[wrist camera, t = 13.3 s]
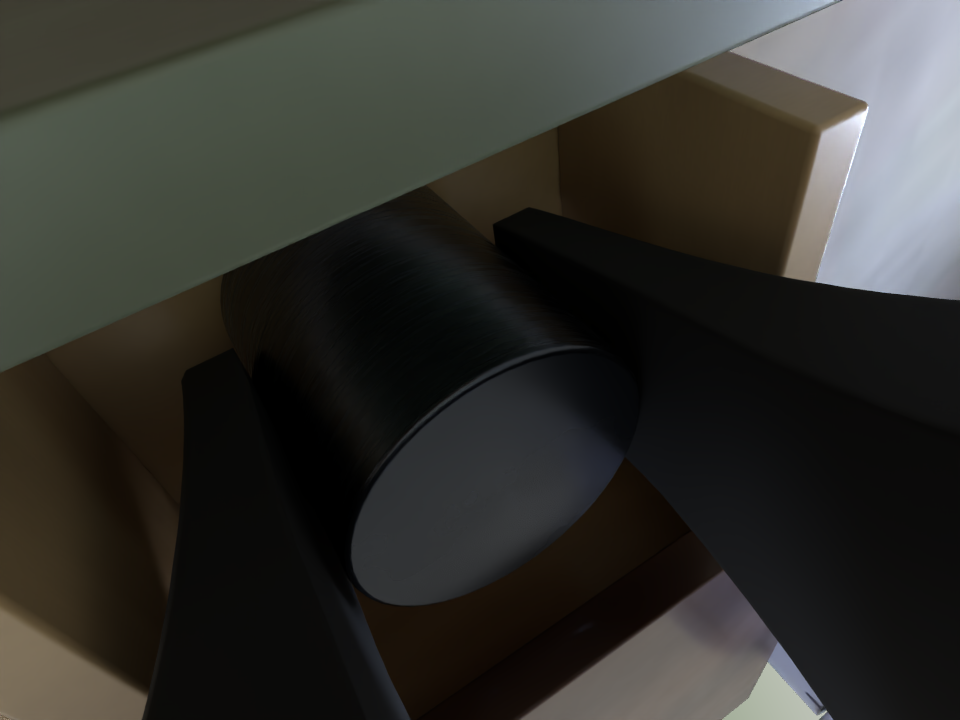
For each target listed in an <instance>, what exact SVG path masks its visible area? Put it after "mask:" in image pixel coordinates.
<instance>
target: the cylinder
mask: <svg viewBox="0 0 960 720" xmlns="http://www.w3.org/2000/svg"><path fill="white" fill-rule="evenodd" d="M220 304H221V314H222V319H223V322H224V326H225V329H226V332H227V334H228V336H229V338H230V340H231V342H232V344H233V346H234V348H235V350H236V352H237V354H238V356H239V359H240V360H241V362H242V364H243V366H244V367H245V369H246V371H247V372H248V374H249V376H250V378H251V379H252V381H253V383H254V385H255V387H256V389H257V391H258V393H259V395H260V397H261V399H262V401H263V403H264V405H265V407H266V409H267V411H268V413H269V415H270V417H271V419H272V421H273V423H274V425H275V427H276V429H277V431H278V434H279V436H280V439H281V441H282V444H283V446H284V448H285V451H286V453H287V455H288V457H289V459H290V461H291V463H292V466H293V468H294V470H295V472H296V474H297V476H298V478H299V480H300V482H301V484H302V486H303V488H304V490H305V492H306V494H307V496H308V498H309V500H310V502H311V504H312V506H313V508H314V510H315V512H316V514H317V516H318V518H319V520H320V522H321V525H322V527H323V529H324V531H325V533H326V535H327V537H328V539H329V541H330V543H331V545H332V547H333V549H334V551H335V553H336V555H337V557H338V559H339V561H340V563H341V565H342V567H343V569H344V571H345V573H346V575H347V577H348V579H349V581H350V582H351V583H352V584H353V585H354V587H355V588H356V589H357V590H359V591H360V592H361V593H363V594H364V595H366V596H367V597H368V598H370V599H372V600H374V601H377V602H379V603H381V604H386V605H391V606H396V607H416V606H426V605H432V604H437V603H442V602H445V601H448V600H452V599H455V598H458V597H461V596H464V595H466V594H469V593H472V592H474V591H476V590H479V589H481V588H483V587H485V586H487V585H490V584H491V583H493V582H495V581H497V580H499V579H501V578H503V577H505V576H506V575H508V574H510V573H511V572H513V571H514V570H516V569H518V568H519V567H521V566H523V565H524V564H525V563H527V562H528V561H530V560H531V559H533V558H534V557H535V556H537V555H538V554H539V553H541V552H542V551H543V550H545V549H546V548H547V547H548V546H550V545H551V544H552V543H553V542H555V541H556V540H557V539H558V538H559V537H560V536H561V535H563V534H564V533H565V532H566V531H567V530H568V529H569V528H570V527H571V526H572V525H573V524H574V523H575V522H576V521H577V520H578V519H579V518H580V517H581V516H582V515H583V514H584V513H585V512H586V511H587V510H588V509H589V508H590V506H591V505H592V504H593V503H594V502H595V501H596V499H597V498H598V497H599V496H600V494H601V493H602V492H603V491H604V489H605V488H606V486H607V485H608V484H609V482H610V481H611V479H612V478H613V476H614V475H615V473H616V472H617V470H618V468H619V467H620V465H621V463H622V461H623V459H624V457H625V456H626V454H627V452H628V450H629V447H630V445H631V442H632V440H633V437H634V435H635V431H636V428H637V424H638V420H639V413H640V392H639V387H638V382H637V380H636V378H635V375H634V373H633V371H632V369H631V367H630V366H629V365H628V363H627V362H626V361H625V360H624V359H623V358H622V357H621V356H620V355H619V354H618V353H617V352H616V351H614V350H613V349H612V348H611V347H610V346H609V345H608V344H606V343H605V342H604V341H603V340H602V339H601V338H600V337H599V336H597V335H596V334H595V333H594V332H593V331H592V330H591V329H589V328H588V327H587V326H586V325H585V324H584V323H583V322H581V321H580V320H579V319H578V318H577V317H576V316H575V315H574V314H572V313H571V312H570V311H569V310H568V309H567V308H566V307H564V306H563V305H562V304H561V303H560V302H559V301H558V300H557V299H555V298H554V297H553V296H552V295H551V294H550V293H549V292H547V291H546V290H545V289H544V288H543V287H542V286H541V285H539V284H538V283H537V282H536V281H535V280H534V279H533V278H532V277H530V276H529V275H528V274H527V273H526V272H525V271H524V270H522V269H521V268H520V267H519V266H518V265H517V264H516V263H514V262H513V261H512V260H511V259H510V258H509V257H508V256H507V255H505V254H504V253H503V252H502V251H501V250H500V249H499V248H497V247H496V246H495V245H494V244H493V243H492V242H491V241H490V240H488V239H487V238H486V237H485V236H484V235H483V234H482V233H480V232H479V231H478V230H477V229H476V228H475V227H474V226H472V225H471V224H470V223H469V222H468V221H467V220H466V219H465V218H463V217H462V216H461V215H460V214H459V213H458V212H457V211H455V210H454V209H453V208H452V207H451V206H450V205H449V204H448V203H446V202H445V201H444V200H443V199H442V198H441V197H440V196H438V195H437V194H436V193H435V192H434V191H433V190H431V189H430V188H429V187H428V186H426V185H424V186H422V187H419V188H417V189H415V190H413V191H410V192H408V193H406V194H403V195H401V196H399V197H397V198H394V199H392V200H390V201H388V202H385V203H383V204H381V205H379V206H376V207H374V208H372V209H370V210H367V211H365V212H363V213H360V214H358V215H356V216H354V217H351V218H349V219H347V220H345V221H342V222H340V223H338V224H336V225H333V226H331V227H329V228H327V229H324V230H322V231H320V232H318V233H315V234H313V235H311V236H308V237H306V238H304V239H302V240H299V241H297V242H295V243H293V244H290V245H288V246H286V247H284V248H281V249H279V250H277V251H275V252H272V253H270V254H268V255H265V256H263V257H261V258H259V259H256V260H254V261H252V262H250V263H247V264H245V265H243V266H241V267H238V268H236V269H234V270H232V271H229V272H227V273H225V274H223V278H222V283H221V294H220Z"/></svg>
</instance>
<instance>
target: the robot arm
mask: <svg viewBox="0 0 960 720" xmlns="http://www.w3.org/2000/svg"><path fill="white" fill-rule="evenodd" d="M492 225H493V232H494V239H495V246H496V247H497V248H499V249H500V250H501V251H502V252H503V253H504V254H505V255H507V256H508V257H509V258H510V259H511V260H512V261H513V262H514V263H516V264H517V265H518V266H519V267H520V268H521V269H522V270H524V271H525V272H526V273H527V274H528V275H529V276H530V277H532V278H533V279H534V280H535V281H536V282H537V283H538V284H539V285H541V286H542V287H543V288H544V289H545V290H546V291H547V292H549V293H550V294H551V295H552V296H553V297H554V298H555V299H557V300H558V301H559V302H560V303H561V304H562V305H563V306H564V307H566V308H567V309H568V310H569V311H570V312H571V313H572V314H574V315H575V316H576V317H577V318H578V319H579V320H580V321H581V322H583V323H584V324H585V325H586V326H587V327H588V328H589V329H591V330H592V331H593V332H594V333H595V334H596V335H597V336H599V337H600V338H601V339H602V340H603V341H604V342H605V343H606V344H608V345H609V346H610V347H611V348H612V349H613V350H614V351H616V352H617V353H618V354H619V355H620V356H621V357H622V358H623V359H624V360H625V361H626V362H627V363H628V365H629V366H630V367H631V369H632V371H633V373H634V375H635V378H636V380H637V382H638V387H639V392H640V413H639V420H638V424H637V428H636V431H635V435H634V437H633V440H632V442H631V445H630V447H629V450H628V452H627V454H626V456H625V457H626V458H627V459H628V460H629V461H630V462H631V463H632V464H633V465H634V466H635V467H636V468H637V469H638V470H639V471H640V472H641V473H642V474H643V475H644V476H645V477H646V478H647V479H648V480H649V481H650V482H651V484H652V485H653V486H654V487H655V488H656V489H657V490H658V491H659V492H660V493H661V494H662V495H663V496H664V498H665V499H666V500H667V501H668V502H669V503H670V505H671V506H672V507H673V508H674V510H675V511H676V512H677V513H678V514H679V516H680V517H681V518H682V519H683V520H684V522H685V523H686V524H687V525H688V526H689V528H690V529H691V530H692V531H693V533H694V534H695V535H696V536H697V537H698V539H699V540H700V541H701V542H702V543H703V545H704V546H705V547H706V548H707V550H708V551H709V552H710V553H711V555H712V556H713V557H714V559H715V560H716V561H717V562H718V564H719V565H720V566H721V567H722V569H723V570H724V571H725V573H726V574H727V575H728V576H729V578H730V579H731V580H732V581H733V583H734V584H735V585H736V586H737V588H738V589H739V590H740V592H741V593H742V594H743V595H744V597H745V598H746V599H747V601H748V602H749V603H750V605H751V606H752V607H753V609H754V610H755V611H756V613H757V614H758V615H759V617H760V618H761V619H762V621H763V622H764V623H765V625H766V626H767V628H768V629H769V630H770V632H771V633H772V634H773V636H774V637H775V638H776V640H777V641H778V643H777V645H776V647H775V649H774V650H773V652H772V654H771V656H770V658H769V660H768V663H769V664H770V665H771V666H772V667H773V668H774V669H775V670H776V671H777V673H778V674H779V675H780V676H781V677H782V678H783V679H784V680H785V681H786V682H787V683H788V685H789V686H790V687H791V688H792V689H793V690H794V691H795V692H796V693H797V694H798V696H799V697H800V698H801V699H802V700H803V701H804V702H805V703H806V704H807V705H808V707H809V708H810V709H811V710H812V711H813V712H814V713H815V714H816V715H820V714H821V713H823V712H824V711H826V710H827V711H828V712H827V713H826V714H825V715H824V716H822V717H821V718H820V719H819V720H960V300H949V299H939V298H929V297H920V296H910V295H901V294H891V293H882V292H875V291H867V290H860V289H852V288H845V287H839V286H834V285H828V284H822V283H816V282H810V281H804V280H799V279H793V278H787V277H782V276H777V275H772V274H767V273H762V272H758V271H753V270H749V269H745V268H741V267H737V266H733V265H728V264H724V263H720V262H716V261H712V260H708V259H704V258H700V257H697V256H693V255H689V254H685V253H682V252H678V251H675V250H671V249H667V248H664V247H661V246H657V245H654V244H650V243H647V242H644V241H640V240H637V239H634V238H630V237H627V236H624V235H621V234H617V233H614V232H611V231H608V230H605V229H601V228H598V227H595V226H592V225H589V224H586V223H582V222H579V221H576V220H573V219H569V218H566V217H563V216H560V215H556V214H553V213H549V212H546V211H542V210H538V209H535V208H531V207H528V208H525V209H523V210H521V211H519V212H517V213H515V214H513V215H511V216H509V217H507V218H504V219H502V220H500V221H498V222H496V223H494V224H492ZM181 384H182V393H183V409H184V447H183V470H182V484H181V498H180V511H179V522H178V531H177V538H176V545H175V552H174V559H173V566H172V574H171V581H170V588H169V595H168V601H167V606H166V612H165V617H164V623H163V628H162V633H161V638H160V643H159V648H158V653H157V657H156V662H155V666H154V671H153V675H152V679H151V684H150V688H149V693H148V697H147V701H146V705H145V709H144V713H143V717H142V720H411V719H410V717H409V715H408V713H407V711H406V709H405V707H404V705H403V703H402V701H401V699H400V697H399V695H398V693H397V691H396V689H395V687H394V685H393V683H392V681H391V679H390V677H389V674H388V672H387V670H386V668H385V665H384V663H383V661H382V659H381V656H380V654H379V652H378V649H377V647H376V644H375V642H374V639H373V637H372V634H371V632H370V629H369V626H368V624H367V621H366V619H365V616H364V614H363V611H362V608H361V606H360V603H359V601H358V598H357V596H356V593H355V590H354V588H353V585H352V583H351V582H350V581H349V579H348V577H347V575H346V573H345V571H344V569H343V567H342V565H341V563H340V561H339V559H338V557H337V555H336V553H335V551H334V549H333V547H332V545H331V543H330V541H329V539H328V537H327V535H326V533H325V531H324V529H323V527H322V525H321V522H320V520H319V518H318V516H317V514H316V512H315V510H314V508H313V506H312V504H311V502H310V500H309V498H308V496H307V494H306V492H305V490H304V488H303V486H302V484H301V482H300V480H299V478H298V476H297V474H296V472H295V470H294V468H293V466H292V463H291V461H290V459H289V457H288V455H287V453H286V451H285V448H284V446H283V444H282V441H281V439H280V436H279V434H278V431H277V429H276V427H275V425H274V423H273V421H272V419H271V417H270V415H269V413H268V411H267V409H266V407H265V405H264V403H263V401H262V399H261V397H260V395H259V393H258V391H257V389H256V387H255V385H254V383H253V381H252V379H251V378H250V376H249V374H248V372H247V371H246V369H245V367H244V366H243V364H242V362H241V360H240V359H239V357H238V355H237V354H236V352H235V350H234V348H231V349H229V350H227V351H225V352H223V353H221V354H219V355H217V356H215V357H213V358H211V359H208V360H206V361H204V362H202V363H200V364H198V365H196V366H194V367H192V368H190V369H187V370H186V371H185V373H184V376H183V378H182V380H181Z"/></svg>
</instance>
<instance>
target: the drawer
mask: <svg viewBox="0 0 960 720" xmlns="http://www.w3.org/2000/svg"><path fill="white" fill-rule="evenodd" d="M840 1H842V0H0V715H2V716H4V717H7V718H9V719H11V720H142V717H143V713H144V709H145V705H146V701H147V697H148V693H149V688H150V684H151V679H152V675H153V671H154V666H155V662H156V657H157V653H158V648H159V643H160V638H161V633H162V628H163V623H164V617H165V612H166V606H167V601H168V595H169V588H170V581H171V574H172V566H173V559H174V552H175V545H176V538H177V531H178V522H179V511H180V498H181V484H182V470H183V447H184V409H183V393H182V384H181V380H182V378H183V376H184V373H185V371H186V370H187V369H190V368H192V367H194V366H196V365H198V364H200V363H202V362H204V361H206V360H208V359H211V358H213V357H215V356H217V355H219V354H221V353H223V352H225V351H227V350H229V349H231V348H234V346H233V344H232V342H231V340H230V338H229V336H228V334H227V332H226V329H225V326H224V322H223V319H222V314H221V304H220V294H221V283H222V278H223V274H225V273H227V272H229V271H232V270H234V269H236V268H238V267H241V266H243V265H245V264H247V263H250V262H252V261H254V260H256V259H259V258H261V257H263V256H265V255H268V254H270V253H272V252H275V251H277V250H279V249H281V248H284V247H286V246H288V245H290V244H293V243H295V242H297V241H299V240H302V239H304V238H306V237H308V236H311V235H313V234H315V233H318V232H320V231H322V230H324V229H327V228H329V227H331V226H333V225H336V224H338V223H340V222H342V221H345V220H347V219H349V218H351V217H354V216H356V215H358V214H360V213H363V212H365V211H367V210H370V209H372V208H374V207H376V206H379V205H381V204H383V203H385V202H388V201H390V200H392V199H394V198H397V197H399V196H401V195H403V194H406V193H408V192H410V191H413V190H415V189H417V188H419V187H422V186H424V185H426V186H428V187H429V188H430V189H431V190H433V191H434V192H435V193H436V194H437V195H438V196H440V197H441V198H442V199H443V200H444V201H445V202H446V203H448V204H449V205H450V206H451V207H452V208H453V209H454V210H455V211H457V212H458V213H459V214H460V215H461V216H462V217H463V218H465V219H466V220H467V221H468V222H469V223H470V224H471V225H472V226H474V227H475V228H476V229H477V230H478V231H479V232H480V233H482V234H483V235H484V236H485V237H486V238H487V239H488V240H490V241H491V242H492V243H493V244H494V245H495V239H494V232H493V225H492V224H494V223H496V222H498V221H500V220H502V219H504V218H507V217H509V216H511V215H513V214H515V213H517V212H519V211H521V210H523V209H525V208H528V207H531V208H535V209H538V210H542V211H546V212H549V213H553V214H556V215H560V216H563V217H566V218H569V219H573V220H576V221H579V222H582V223H586V224H589V225H592V226H595V227H598V228H601V229H605V230H608V231H611V232H614V233H617V234H621V235H624V236H627V237H630V238H634V239H637V240H640V241H644V242H647V243H650V244H654V245H657V246H661V247H664V248H667V249H671V250H675V251H678V252H682V253H685V254H689V255H693V256H697V257H700V258H704V259H708V260H712V261H716V262H720V263H724V264H728V265H733V266H737V267H741V268H745V269H749V270H753V271H758V272H762V273H767V274H772V275H777V276H782V277H787V278H793V279H799V280H804V281H810V282H815V281H816V278H817V275H818V271H819V268H820V265H821V262H822V258H823V255H824V252H825V249H826V245H827V242H828V239H829V236H830V232H831V229H832V226H833V223H834V219H835V216H836V213H837V210H838V206H839V203H840V200H841V197H842V193H843V190H844V187H845V184H846V180H847V177H848V174H849V171H850V167H851V164H852V161H853V158H854V154H855V151H856V148H857V145H858V141H859V138H860V135H861V132H862V128H863V125H864V122H865V119H866V116H867V112H868V104H867V103H866V102H865V101H862V100H859V99H857V98H854V97H851V96H849V95H846V94H843V93H840V92H838V91H835V90H832V89H830V88H827V87H824V86H822V85H819V84H816V83H813V82H811V81H808V80H805V79H803V78H800V77H797V76H795V75H792V74H789V73H786V72H784V71H781V70H778V69H776V68H773V67H770V66H768V65H765V64H762V63H759V62H757V61H754V60H751V59H749V58H746V57H743V56H741V55H738V54H735V53H732V52H730V51H729V50H731V49H734V48H736V47H738V46H741V45H743V44H745V43H747V42H750V41H752V40H754V39H756V38H759V37H761V36H763V35H765V34H768V33H770V32H772V31H774V30H777V29H779V28H781V27H784V26H786V25H788V24H790V23H793V22H795V21H797V20H799V19H802V18H804V17H806V16H808V15H811V14H813V13H815V12H817V11H820V10H822V9H824V8H826V7H829V6H831V5H833V4H836V3H838V2H840ZM234 350H235V348H234ZM235 352H236V350H235ZM236 354H237V352H236ZM237 355H238V354H237ZM238 357H239V356H238ZM689 530H690V528H689V526H688V525H687V524H686V523H685V522H684V520H683V519H682V518H681V517H680V516H679V514H678V513H677V512H676V511H675V510H674V508H673V507H672V506H671V505H670V503H669V502H668V501H667V500H666V499H665V498H664V496H663V495H662V494H661V493H660V492H659V491H658V490H657V489H656V488H655V487H654V486H653V485H652V484H651V482H650V481H649V480H648V479H647V478H646V477H645V476H644V475H643V474H642V473H641V472H640V471H639V470H638V469H637V468H636V467H635V466H634V465H633V464H632V463H631V462H630V461H629V460H628V459H627V458H626V457H624V459H623V461H622V463H621V465H620V467H619V468H618V470H617V472H616V473H615V475H614V476H613V478H612V479H611V481H610V482H609V484H608V485H607V486H606V488H605V489H604V491H603V492H602V493H601V494H600V496H599V497H598V498H597V499H596V501H595V502H594V503H593V504H592V505H591V506H590V508H589V509H588V510H587V511H586V512H585V513H584V514H583V515H582V516H581V517H580V518H579V519H578V520H577V521H576V522H575V523H574V524H573V525H572V526H571V527H570V528H569V529H568V530H567V531H566V532H565V533H564V534H563V535H561V536H560V537H559V538H558V539H557V540H556V541H555V542H553V543H552V544H551V545H550V546H548V547H547V548H546V549H545V550H543V551H542V552H541V553H539V554H538V555H537V556H535V557H534V558H533V559H531V560H530V561H528V562H527V563H525V564H524V565H523V566H521V567H519V568H518V569H516V570H514V571H513V572H511V573H510V574H508V575H506V576H505V577H503V578H501V579H499V580H497V581H495V582H493V583H491V584H490V585H487V586H485V587H483V588H481V589H479V590H476V591H474V592H472V593H469V594H466V595H464V596H461V597H458V598H455V599H452V600H448V601H445V602H442V603H437V604H432V605H426V606H416V607H396V606H391V605H386V604H381V603H379V602H377V601H374V600H372V599H370V598H368V597H367V596H366V595H364V594H363V593H361V592H360V591H359V590H357V589H356V588H355V587H354V585H353V584H352V585H353V588H354V590H355V593H356V596H357V598H358V601H359V603H360V606H361V608H362V611H363V614H364V616H365V619H366V621H367V624H368V626H369V629H370V632H371V634H372V637H373V639H374V642H375V644H376V647H377V649H378V652H379V654H380V656H381V659H382V661H383V663H384V665H385V668H386V670H387V672H388V674H389V677H390V679H391V681H392V683H393V685H394V687H395V689H396V691H397V693H398V695H399V697H400V699H401V701H402V703H403V705H404V707H405V709H406V711H407V713H408V715H409V717H410V719H411V720H416V719H418V718H419V717H420V716H422V715H423V714H425V713H426V712H428V711H429V710H431V709H432V708H433V707H435V706H436V705H438V704H439V703H441V702H442V701H444V700H445V699H446V698H448V697H449V696H451V695H452V694H454V693H455V692H457V691H458V690H459V689H461V688H462V687H464V686H465V685H467V684H468V683H470V682H471V681H472V680H474V679H475V678H477V677H478V676H480V675H481V674H483V673H484V672H485V671H487V670H488V669H490V668H491V667H493V666H494V665H496V664H497V663H498V662H500V661H501V660H503V659H504V658H506V657H507V656H509V655H510V654H511V653H513V652H514V651H516V650H517V649H519V648H520V647H522V646H523V645H524V644H526V643H527V642H529V641H530V640H532V639H533V638H534V637H536V636H537V635H539V634H540V633H542V632H543V631H545V630H546V629H547V628H549V627H550V626H552V625H553V624H555V623H556V622H558V621H559V620H560V619H562V618H563V617H565V616H566V615H568V614H569V613H571V612H572V611H573V610H575V609H576V608H578V607H579V606H581V605H582V604H584V603H585V602H586V601H588V600H589V599H591V598H592V597H594V596H595V595H597V594H598V593H599V592H601V591H602V590H604V589H605V588H607V587H608V586H610V585H611V584H612V583H614V582H615V581H617V580H618V579H620V578H621V577H623V576H624V575H625V574H627V573H628V572H630V571H631V570H633V569H634V568H636V567H637V566H638V565H640V564H641V563H643V562H644V561H646V560H647V559H649V558H650V557H651V556H653V555H654V554H656V553H657V552H659V551H660V550H662V549H663V548H664V547H666V546H667V545H669V544H670V543H672V542H673V541H675V540H676V539H677V538H679V537H680V536H682V535H683V534H685V533H686V532H687V531H689Z"/></svg>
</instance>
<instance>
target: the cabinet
mask: <svg viewBox="0 0 960 720" xmlns="http://www.w3.org/2000/svg"><path fill="white" fill-rule="evenodd" d="M777 643H778V641H777V640H776V638H775V637H774V636H773V634H772V633H771V632H770V630H769V629H768V628H767V626H766V625H765V623H764V622H763V621H762V619H761V618H760V617H759V615H758V614H757V613H756V611H755V610H754V609H753V607H752V606H751V605H750V603H749V602H748V601H747V599H746V598H745V597H744V595H743V594H742V593H741V592H740V590H739V589H738V588H737V586H736V585H735V584H734V583H733V581H732V580H731V579H730V578H729V576H728V575H727V574H726V573H725V571H724V570H723V569H722V567H721V566H720V565H719V564H718V562H717V561H716V560H715V559H714V557H713V556H712V555H711V553H710V552H709V551H708V550H707V548H706V547H705V546H704V545H703V543H702V542H701V541H700V540H699V539H698V537H697V536H696V535H695V534H694V533H693V531H692V530H691V529H690V530H689V531H687V532H686V533H685V534H683V535H682V536H680V537H679V538H677V539H676V540H675V541H673V542H672V543H670V544H669V545H667V546H666V547H664V548H663V549H662V550H660V551H659V552H657V553H656V554H654V555H653V556H651V557H650V558H649V559H647V560H646V561H644V562H643V563H641V564H640V565H638V566H637V567H636V568H634V569H633V570H631V571H630V572H628V573H627V574H625V575H624V576H623V577H621V578H620V579H618V580H617V581H615V582H614V583H612V584H611V585H610V586H608V587H607V588H605V589H604V590H602V591H601V592H599V593H598V594H597V595H595V596H594V597H592V598H591V599H589V600H588V601H586V602H585V603H584V604H582V605H581V606H579V607H578V608H576V609H575V610H573V611H572V612H571V613H569V614H568V615H566V616H565V617H563V618H562V619H560V620H559V621H558V622H556V623H555V624H553V625H552V626H550V627H549V628H547V629H546V630H545V631H543V632H542V633H540V634H539V635H537V636H536V637H534V638H533V639H532V640H530V641H529V642H527V643H526V644H524V645H523V646H522V647H520V648H519V649H517V650H516V651H514V652H513V653H511V654H510V655H509V656H507V657H506V658H504V659H503V660H501V661H500V662H498V663H497V664H496V665H494V666H493V667H491V668H490V669H488V670H487V671H485V672H484V673H483V674H481V675H480V676H478V677H477V678H475V679H474V680H472V681H471V682H470V683H468V684H467V685H465V686H464V687H462V688H461V689H459V690H458V691H457V692H455V693H454V694H452V695H451V696H449V697H448V698H446V699H445V700H444V701H442V702H441V703H439V704H438V705H436V706H435V707H433V708H432V709H431V710H429V711H428V712H426V713H425V714H423V715H422V716H420V717H419V718H418V719H416V720H722V719H723V718H724V717H725V716H727V715H728V714H729V713H730V712H731V711H733V710H734V709H735V708H737V707H738V706H739V705H740V704H742V703H743V702H744V701H745V700H746V699H748V698H749V696H750V694H751V692H752V690H753V688H754V686H755V685H756V683H757V681H758V679H759V677H760V675H761V673H762V671H763V669H764V668H765V666H766V664H767V662H768V660H769V658H770V656H771V654H772V652H773V650H774V649H775V647H776V645H777Z"/></svg>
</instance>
